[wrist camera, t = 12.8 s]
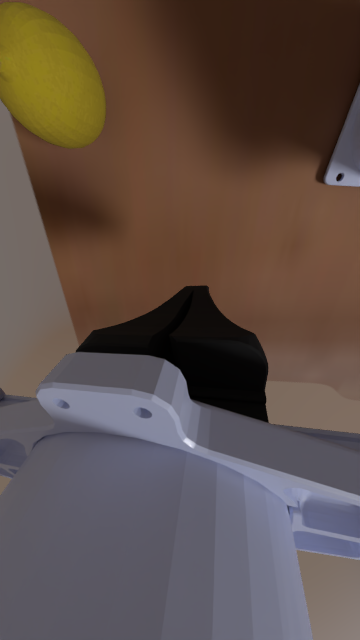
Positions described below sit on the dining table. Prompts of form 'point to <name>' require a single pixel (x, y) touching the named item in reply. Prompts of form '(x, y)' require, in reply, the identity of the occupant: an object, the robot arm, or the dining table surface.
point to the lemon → (48, 78)
